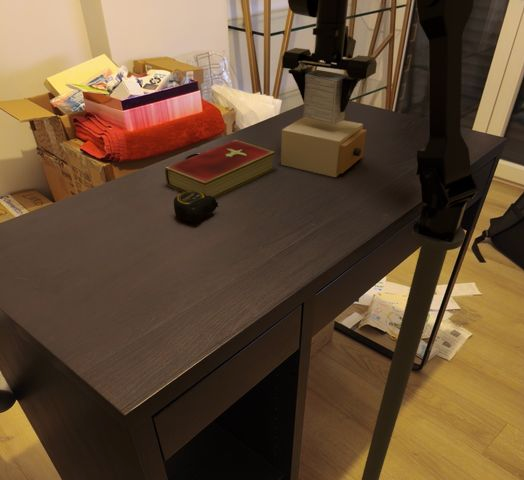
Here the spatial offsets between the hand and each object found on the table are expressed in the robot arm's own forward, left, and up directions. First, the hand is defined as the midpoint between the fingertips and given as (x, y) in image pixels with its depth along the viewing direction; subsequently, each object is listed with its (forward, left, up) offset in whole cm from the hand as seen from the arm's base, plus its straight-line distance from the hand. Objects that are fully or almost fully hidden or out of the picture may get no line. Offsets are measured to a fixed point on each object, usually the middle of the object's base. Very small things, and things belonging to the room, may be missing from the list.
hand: (324, 108), depth 102 cm
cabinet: (0, 0, -11) cm, 11 cm away
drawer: (-2, 0, -10) cm, 11 cm away
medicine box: (0, 0, -2) cm, 2 cm away
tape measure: (+8, +36, -12) cm, 39 cm away
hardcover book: (+14, +19, -11) cm, 26 cm away
